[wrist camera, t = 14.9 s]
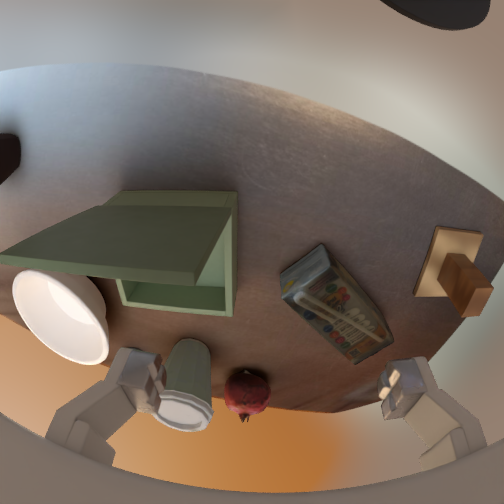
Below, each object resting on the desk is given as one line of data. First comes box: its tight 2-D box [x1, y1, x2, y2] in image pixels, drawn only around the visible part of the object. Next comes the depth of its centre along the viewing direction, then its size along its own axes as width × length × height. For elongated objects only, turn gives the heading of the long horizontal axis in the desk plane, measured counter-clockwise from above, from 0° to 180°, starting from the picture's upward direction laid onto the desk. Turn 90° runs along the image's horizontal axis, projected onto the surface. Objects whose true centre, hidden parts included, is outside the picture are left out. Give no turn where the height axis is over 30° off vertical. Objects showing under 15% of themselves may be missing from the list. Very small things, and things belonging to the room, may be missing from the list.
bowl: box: [13, 269, 109, 365], centre depth 42 cm, size 21×21×8 cm
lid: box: [0, 205, 231, 286], centre depth 22 cm, size 16×16×1 cm
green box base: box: [102, 190, 238, 317], centre depth 36 cm, size 15×16×6 cm
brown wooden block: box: [437, 253, 494, 317], centre depth 33 cm, size 5×4×9 cm
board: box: [413, 226, 483, 297], centre depth 37 cm, size 12×10×1 cm
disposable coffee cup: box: [152, 338, 214, 432], centre depth 43 cm, size 11×11×15 cm
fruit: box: [224, 369, 271, 422], centre depth 49 cm, size 9×10×10 cm
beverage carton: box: [280, 244, 394, 365], centre depth 39 cm, size 8×19×7 cm, turn 43°
